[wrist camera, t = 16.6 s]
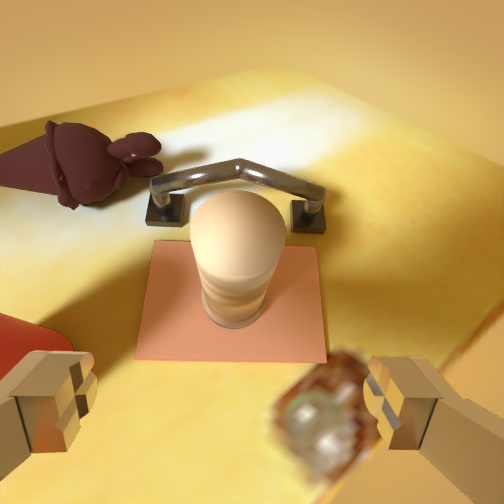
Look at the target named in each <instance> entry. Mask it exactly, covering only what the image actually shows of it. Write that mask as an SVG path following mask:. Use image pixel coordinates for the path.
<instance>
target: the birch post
mask: <svg viewBox="0 0 504 504" xmlns="http://www.w3.org/2000/svg"><path fill="white" fill-rule="evenodd" d="M190 240H191V244H192V247H193V251H194V255H195V259H196V263H197V267H198V271H199V275H200V279H201V283H202V303H203V306H204V309H205V312H206V314H207V315H208V317H209V318H210V319H211V320H212V321H213V322H214V323H216V324H217V325H219V326H221V327H224V328H227V329H240V328H244V327H247V326H249V325H251V324H252V323H253V322H255V321H256V320H257V319H258V318H259V316H260V315H261V313H262V311H263V309H264V307H265V304H266V300H267V289H268V286H269V284H270V281H271V278H272V276H273V273H274V271H275V268H276V266H277V263H278V261H279V258H280V256H281V253H282V251H283V248H284V245H285V242H286V226H285V222H284V220H283V217H282V215H281V214H280V212H279V211H278V209H277V208H276V207H275V206H274V205H273V204H272V203H271V202H270V201H268V200H267V199H265V198H264V197H262V196H260V195H258V194H255V193H252V192H247V191H227V192H223V193H220V194H217V195H215V196H213V197H211V198H209V199H208V200H206V201H205V202H204V203H203V204H202V205H201V206H200V207H199V208H198V209H197V211H196V212H195V214H194V216H193V218H192V221H191V225H190Z"/></svg>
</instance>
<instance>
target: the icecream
mask: <svg viewBox="0 0 504 504" xmlns="http://www.w3.org/2000/svg"><path fill="white" fill-rule="evenodd" d="M45 130H46V133H47V134H45V135H42V136H40V137H38V138H36V139H34V140H31V141H29V142H27V143H25V144H23V145H20V146H18V147H16V148H14V149H12V150H10V151H7V152H5V153H3V154H1V155H0V186H3V187H9V188H15V189H21V190H27V191H33V192H39V193H45V194H51V195H57V196H58V201H59V203H60V204H61V205H63V206H65V207H70V208H71V209H72V210H75V209H76V208H77V207H79V204H88V203H91V202H95V201H98V202H102V201H103V200H105V199H106V197H107V196H109V195H111V194H112V193H113V192H114V191H115V190H116V189H119V188H121V187H123V186H124V184H125V182H126V181H127V179H128V176H130V177H148V176H154V175H158V174H160V173H162V172H163V164H162V163H161V162H160V161H159V160H157V159H155V158H150V157H151V156H154V155H156V154H158V153H159V151H160V150H161V143H160V142H159V141H158V140H157V139H156V138H155V137H154V136H153V135H152V134H149V133H145V132H137V133H130V134H127V135H126V138H122V139H119V140H117V141H115V142H112V141H111V140H110V139H109V137H107V136H106V135H104V134H103V133H101V132H99V131H98V130H96V129H94V128H92V127H89V126H86V125H83V124H80V123H65V122H64V123H62V124H60V125H58V124H56V123H54V122H52V121H50V120H49V121H48V122H47V124H46V126H45Z"/></svg>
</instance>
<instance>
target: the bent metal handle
mask: <svg viewBox="0 0 504 504" xmlns="http://www.w3.org/2000/svg"><path fill="white" fill-rule="evenodd" d="M234 179H243V180H246V181H250V182H253V183H256V184H259V185H263V186H266V187H269V188H272V189H276V190H279V191H282V192H285V193H289V194H292V195H295V196H298V197H302V198H305V199H306V201H302V200H291V203H290V214H291V232H299V233H322V234H324V232H325V230H326V224H325V215H324V206H323V202H324V200H325V198H326V197H327V190H326V188H325V187H324V186H322V185H319V184H316V183H314V182H311V181H308V180H305V179H302V178H299V177H296V176H293V175H290V174H287V173H284V172H281V171H278V170H275V169H272V168H269V167H266V166H263V165H260V164H257V163H254V162H251V161H248V160H245V159H243V158H238V159H233V160H228V161H224V162H219V163H214V164H209V165H205V166H200V167H195V168H190V169H186V170H181V171H176V172H171V173H167V174H162V175H157V176H153V177H151V178H150V179H149V180H148V188H149V190H150V198H149V203H148V209H147V214H146V219H145V222H146V224H147V226H162V227H182V219H183V211H184V203H185V197H184V194H169V192H171V191H177V190H182V189H187V188H192V187H198V186H203V185H208V184H213V183H219V182H224V181H229V180H234Z"/></svg>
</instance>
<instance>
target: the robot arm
mask: <svg viewBox="0 0 504 504" xmlns="http://www.w3.org/2000/svg"><path fill="white" fill-rule="evenodd" d="M94 364H95V363H94V358H93V354H91V353H90V352H73V351H37V350H35V351H32V352H29V353H28V354H27V355H26V356H25V357H24V358H23V359H22V360H21V361H20V362H19V363H18V364H17V365H16V366H15V367H14V368H13V369H12V370H11V371H10V372H9V373H8V374H7V375H6V376H5V377H4V378H3V379H2V380H1V381H0V481H1V480H3V479H4V478H5V477H6V476H7V475H8V474H10V473H11V472H12V471H13V470H14V469H15V468H17V467H18V466H19V465H20V464H21V463H23V462H24V461H25V460H26V459H27V458H28V457H30V456H31V454H30V453H54V452H67V451H68V450H69V448H70V446H71V444H72V442H73V441H74V439H75V437H76V435H77V433H78V432H79V430H80V428H81V426H80V421H79V420H80V419H81V418H82V417H84V416H85V415H86V414H88V413H89V412H90V410H91V408H92V406H93V404H94V401H95V397H96V394H97V384H98V383H97V376H96V375H95V374H93V373H92V372H91V371H90V370H91V369H92V367H93V366H94ZM368 368H369V370H370V372H371V374H370V375H369V376H368V377H367V378H366V379H365V382H364V387H363V391H364V399H365V403H366V406H367V408H368V410H369V412H370V413H371V414H372V415H373V416H374V417H376V418H377V419H378V424H377V428H378V430H379V432H380V434H381V436H382V438H383V440H384V442H385V444H386V446H387V448H388V449H389V450H391V449H392V450H419V453H421V454H422V455H423V456H424V457H425V458H426V459H427V460H428V461H429V462H430V463H431V464H432V465H433V466H435V467H436V468H437V469H438V470H439V471H440V472H441V473H442V474H443V475H444V476H445V477H446V478H447V479H449V480H450V481H451V482H452V483H453V484H454V485H455V486H456V487H457V488H458V489H459V490H460V491H461V492H462V493H464V494H465V495H466V496H467V497H468V498H469V499H470V500H471V501H472V502H473V503H474V504H504V419H502V418H500V417H498V416H497V415H495V414H493V413H491V412H490V411H488V410H486V409H485V408H483V407H481V406H479V405H477V404H476V403H474V402H472V401H471V400H469V399H462V398H461V397H460V396H459V395H458V394H457V392H456V391H455V390H454V389H453V388H452V387H451V386H450V385H449V383H448V382H447V381H446V380H445V379H444V378H443V377H442V376H441V374H440V373H439V372H438V371H437V370H436V369H435V368H434V367H433V365H432V364H431V363H430V362H429V361H428V360H427V359H426V358H424V357H422V356H405V357H388V356H372V358H371V359H370V361H369V365H368Z"/></svg>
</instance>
